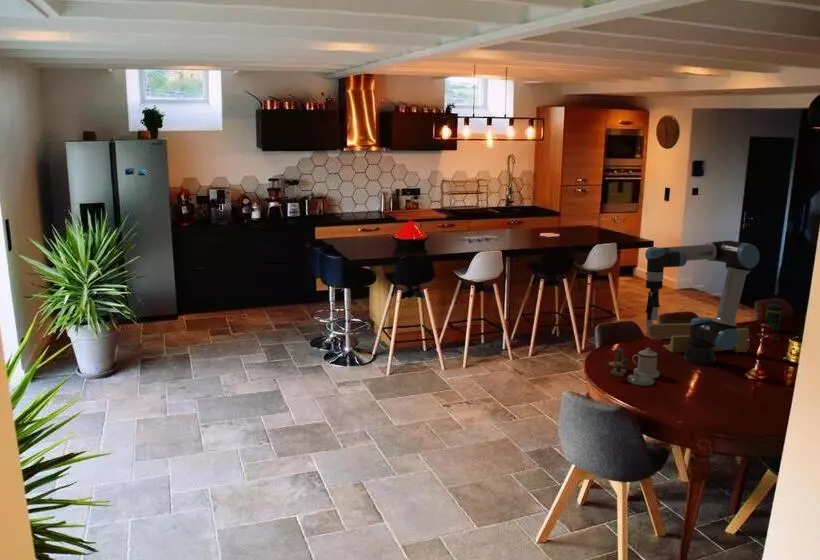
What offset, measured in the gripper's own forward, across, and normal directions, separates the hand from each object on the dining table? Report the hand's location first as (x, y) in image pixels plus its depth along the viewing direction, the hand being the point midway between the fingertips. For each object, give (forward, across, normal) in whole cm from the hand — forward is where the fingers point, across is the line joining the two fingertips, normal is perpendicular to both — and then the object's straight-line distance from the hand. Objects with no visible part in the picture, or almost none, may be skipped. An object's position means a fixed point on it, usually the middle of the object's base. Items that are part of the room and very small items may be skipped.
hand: (651, 323), depth 333 cm
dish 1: (+25, +2, -1) cm, 26 cm away
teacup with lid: (+24, +2, -2) cm, 24 cm away
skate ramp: (+27, -66, +13) cm, 72 cm away
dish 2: (+25, +15, -1) cm, 30 cm away
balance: (+25, +8, -13) cm, 29 cm away
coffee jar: (+28, -123, +50) cm, 136 cm away
